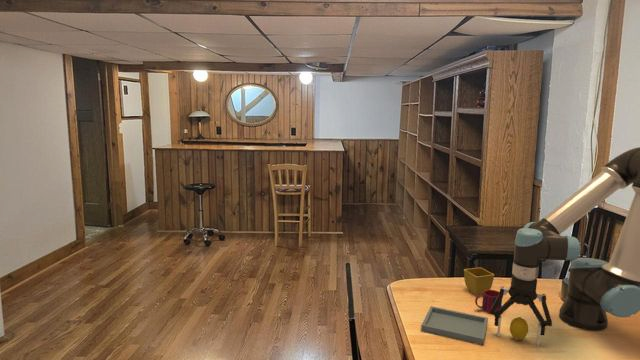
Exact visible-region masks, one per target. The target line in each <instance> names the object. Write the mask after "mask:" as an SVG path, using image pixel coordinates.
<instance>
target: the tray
mask: <svg viewBox="0 0 640 360" xmlns="http://www.w3.org/2000/svg"><path fill="white" fill-rule="evenodd" d="M426 313H427V314H426V315H425V317H424V319H423V321H422V324H421V326H420V328H421V329H420V332H423V333H428V334H431V335H437V336H440V337H445V338H449V339H454V340H458V341H463V342H467V343H470V344H475V345H480V346H484V344H485V340H486V339H485V338H486V333H487V328H488V321H489V317H485V316H482V315H476V314H472V313H471V314H470V313H465V312H461V311H456V310H452V309H447V308H443V307H442V308H441V307H437V306H432V305H430V307H429V309H428V311H427V312H426Z"/></svg>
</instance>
